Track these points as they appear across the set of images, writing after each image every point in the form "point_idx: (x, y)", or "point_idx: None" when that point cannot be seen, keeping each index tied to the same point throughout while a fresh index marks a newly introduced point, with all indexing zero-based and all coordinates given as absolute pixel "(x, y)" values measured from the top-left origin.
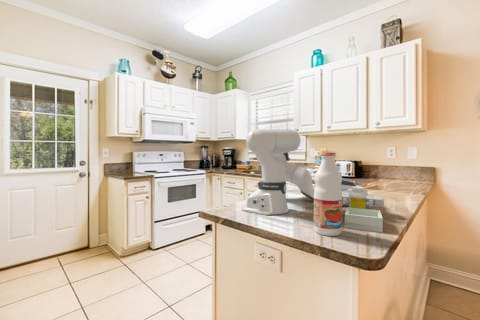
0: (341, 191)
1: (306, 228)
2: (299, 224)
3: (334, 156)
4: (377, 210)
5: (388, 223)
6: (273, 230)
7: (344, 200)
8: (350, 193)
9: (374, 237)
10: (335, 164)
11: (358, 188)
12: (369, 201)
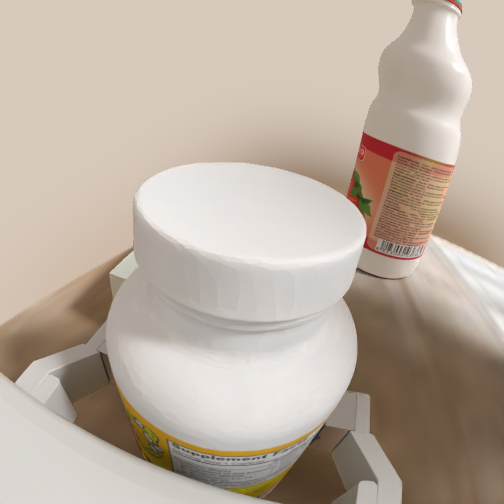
0: (371, 104)
1: (434, 272)
2: (466, 298)
3: (412, 1)
4: (129, 271)
5: (77, 330)
6: (480, 261)
7: (375, 457)
8: (347, 310)
9: None
10: (408, 23)
11: (262, 169)
12: (86, 351)
